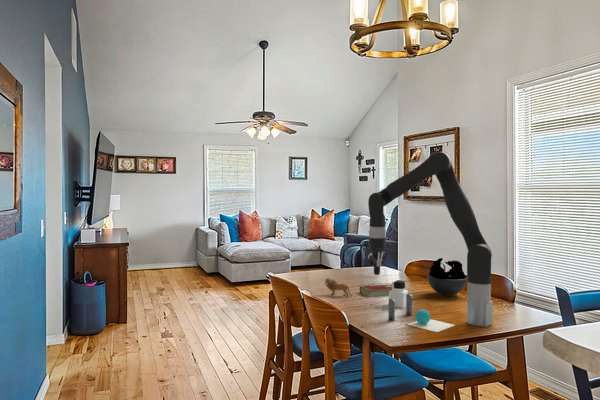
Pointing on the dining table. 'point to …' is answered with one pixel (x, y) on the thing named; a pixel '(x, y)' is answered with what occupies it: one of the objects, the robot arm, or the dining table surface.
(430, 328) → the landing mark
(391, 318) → the left post
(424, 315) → the ball
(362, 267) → the dining table surface
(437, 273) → the coal bowl
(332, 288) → the lion figurine
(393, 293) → the medicine bottle
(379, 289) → the hardcover book
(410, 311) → the right post
